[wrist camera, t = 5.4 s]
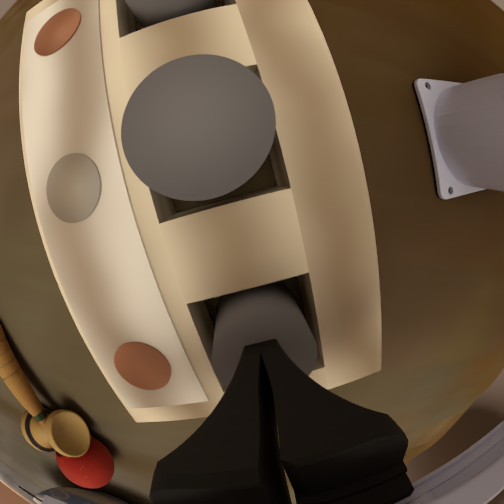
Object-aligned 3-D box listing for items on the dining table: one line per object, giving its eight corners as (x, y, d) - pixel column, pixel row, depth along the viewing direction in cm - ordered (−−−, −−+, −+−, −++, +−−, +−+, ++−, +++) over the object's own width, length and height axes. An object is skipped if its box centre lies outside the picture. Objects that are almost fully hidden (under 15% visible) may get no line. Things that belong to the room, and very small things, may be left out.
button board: (259, -41, 10) (265, -76, 6) (358, 339, 17) (383, 374, 13) (51, 29, 10) (23, 10, 6) (148, 387, 17) (135, 426, 13)
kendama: (-10, 330, 17) (86, 466, 19) (-47, 349, 10) (72, 502, 13) (28, 302, 18) (135, 456, 20) (-15, 320, 11) (126, 499, 14)
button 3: (287, 265, 14) (309, 301, 10) (301, 333, 16) (322, 382, 11) (206, 286, 14) (196, 330, 10) (229, 352, 16) (229, 405, 11)
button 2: (246, 86, 11) (253, 40, 6) (271, 178, 12) (293, 178, 7) (150, 113, 11) (110, 84, 6) (174, 205, 12) (141, 220, 7)
